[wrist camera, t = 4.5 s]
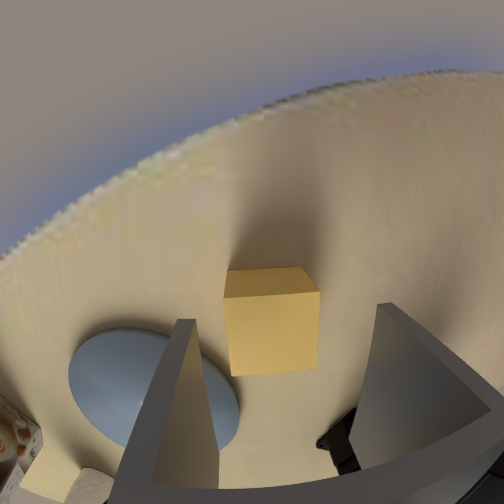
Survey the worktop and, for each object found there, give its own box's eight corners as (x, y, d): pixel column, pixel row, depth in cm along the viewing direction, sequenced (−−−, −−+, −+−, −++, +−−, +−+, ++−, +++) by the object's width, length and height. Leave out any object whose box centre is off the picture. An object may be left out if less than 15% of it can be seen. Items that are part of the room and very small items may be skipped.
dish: (275, 386, 21) (276, 396, 20) (192, 467, 23) (191, 475, 22) (98, 289, 18) (91, 295, 17) (64, 401, 21) (59, 408, 20)
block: (299, 330, 20) (315, 368, 15) (232, 335, 20) (231, 376, 15) (300, 266, 19) (320, 291, 14) (227, 270, 19) (223, 298, 14)
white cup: (73, 457, 23) (51, 505, 14) (124, 477, 24) (108, 531, 14) (83, 479, 25) (67, 522, 15) (128, 496, 26) (116, 542, 16)
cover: (359, 435, 10) (407, 540, 4) (206, 453, 10) (199, 576, 3) (391, 302, 9) (526, 418, 2) (177, 319, 9) (103, 513, 2)
